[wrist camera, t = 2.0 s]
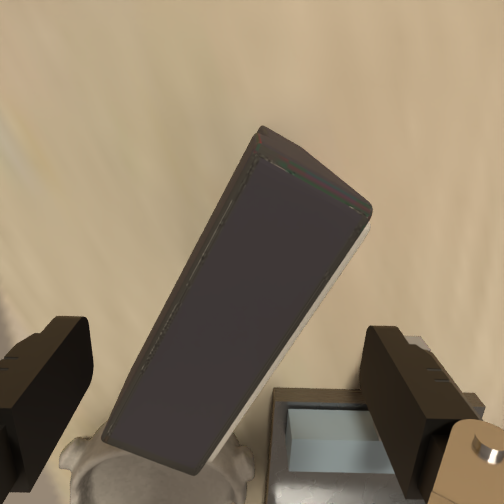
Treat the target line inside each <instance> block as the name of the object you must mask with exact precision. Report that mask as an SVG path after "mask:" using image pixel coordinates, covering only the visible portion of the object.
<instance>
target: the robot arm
mask: <svg viewBox="0 0 504 504" xmlns="http://www.w3.org/2000/svg"><path fill="white" fill-rule="evenodd" d="M93 367H94V364H93V355H92V347H91V338H90V330H89V323H88V320H87V318H86V317H78V316H56V317H55V318H54V319H53V320H52V321H51V322H50V323H49V324H48V325H47V326H46V328H45V329H44V330H43V331H42V332H41V333H34V334H32V335H31V336H29V337H27V338H26V339H24V340H22V341H21V342H19V343H17V344H16V345H15V346H14V347H13V348H12V349H11V350H10V351H9V352H8V353H7V354H6V356H5V357H4V359H2V360H1V361H0V504H3V502H4V500H5V499H6V497H7V495H8V493H9V492H31V490H32V488H33V486H34V484H35V482H36V481H37V479H38V477H39V475H40V474H41V472H42V470H43V468H44V466H45V465H46V463H47V461H48V459H49V457H50V456H51V454H52V452H53V450H54V448H55V447H56V445H57V443H58V441H59V439H60V438H61V436H62V434H63V432H64V430H65V429H66V427H67V425H68V423H69V421H70V420H71V418H72V416H73V414H74V412H75V411H76V409H77V407H78V405H79V403H80V401H81V400H82V398H83V396H84V394H85V392H86V391H87V389H88V387H89V385H90V383H91V380H92V375H93ZM359 380H360V387H361V392H362V394H363V397H364V399H365V402H366V404H367V407H368V409H369V411H370V414H371V416H372V419H373V421H374V424H375V426H376V429H377V431H378V434H379V436H380V438H381V441H382V443H383V446H384V448H385V451H386V453H387V456H388V458H389V460H390V463H391V465H392V468H393V470H394V473H395V475H396V478H397V480H398V482H399V485H400V487H401V490H402V492H403V495H404V497H405V499H414V500H424V501H425V504H504V430H503V429H501V428H499V427H497V426H495V425H493V424H490V423H488V422H484V421H481V420H479V418H478V417H477V416H476V414H475V413H474V412H473V410H472V409H471V408H470V406H469V405H468V404H467V402H466V401H465V400H464V398H463V397H462V396H461V394H460V393H459V392H458V390H457V389H456V388H455V386H454V385H453V384H452V382H449V378H448V377H447V376H446V374H445V373H444V372H443V371H441V368H440V366H439V365H438V364H437V362H436V361H435V360H434V358H433V357H432V356H431V355H430V354H429V353H427V352H426V351H424V350H423V349H422V348H420V347H419V346H418V345H416V344H409V343H408V341H407V340H406V338H405V337H404V336H403V334H402V333H401V331H400V330H399V328H398V327H396V326H369V327H368V329H367V331H366V337H365V342H364V348H363V354H362V360H361V366H360V373H359Z"/></svg>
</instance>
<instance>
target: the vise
mask: <svg viewBox="0 0 504 504" xmlns="http://www.w3.org/2000/svg"><path fill="white" fill-rule="evenodd" d="M463 394H464V396H465V397H466V398H467V400H468V401H469V402H470V404H471V405H472V406H473V408H474V409H475V410H476V412H477V413H478V414H479V416H480V417H481V418H482V416H483V413H484V410H485V405H484V404H483V403H482V402H481V400H480V399H479V398H478V397H477V395H476V394H475V393H463ZM288 409H313V410H351V411H369V409H368V407H367V404H366V402H365V399H364V397H363V394H362V392H361V390H345V389H309V388H274V392H273V406H272V419H271V432H270V445H269V459H268V472H267V485H266V498H265V504H425V501H424V500H414V499H405V497H404V495H403V492H402V490H401V487H400V485H399V482H398V480H397V478H396V475H395V474H387V473H343V472H298V471H289V468H288V459H287V450H286V441H285V437H286V427H287V416H288Z"/></svg>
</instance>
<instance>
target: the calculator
mask: <svg viewBox="0 0 504 504" xmlns="http://www.w3.org/2000/svg"><path fill="white" fill-rule="evenodd" d="M372 210H373V209H372V205H371V204H370V203H369V202H368V201H367V200H366V199H365V198H364V197H362V196H361V195H360V194H359V193H357V192H356V191H355V190H354V189H352V188H351V187H350V186H349V185H347V184H346V183H345V182H344V181H343V180H341V179H340V178H339V177H338V176H336V175H335V174H334V173H333V172H331V171H330V170H329V169H328V168H326V167H325V166H324V165H323V164H321V163H320V162H319V161H318V160H316V159H315V158H314V157H313V156H312V155H310V154H309V153H308V152H307V151H305V150H304V149H303V148H301V147H300V146H298V145H296V144H295V143H293V142H291V141H290V140H288V139H286V138H284V137H283V136H281V135H279V134H277V133H276V132H274V131H272V130H270V129H269V128H267V127H265V126H261V127H260V128H259V130H258V131H257V133H256V134H254V136H253V137H252V139H251V141H250V143H249V145H248V147H247V149H246V151H245V152H244V154H243V156H242V158H241V160H240V162H239V164H238V166H237V168H236V170H235V172H234V173H233V175H232V177H231V179H230V181H229V183H228V185H227V187H226V189H225V191H224V193H223V194H222V196H221V198H220V200H219V202H218V204H217V206H216V208H215V210H214V212H213V214H212V215H211V217H210V219H209V221H208V223H207V225H206V227H205V229H204V231H203V233H202V235H201V237H200V238H199V240H198V242H197V244H196V246H195V248H194V250H193V252H192V254H191V256H190V258H189V259H188V261H187V263H186V265H185V267H184V269H183V271H182V273H181V275H180V277H179V279H178V280H177V282H176V284H175V286H174V288H173V290H172V292H171V294H170V296H169V298H168V300H167V301H166V303H165V305H164V307H163V309H162V311H161V313H160V315H159V317H158V319H157V321H156V323H155V324H154V326H153V328H152V330H151V332H150V334H149V336H148V338H147V340H146V342H145V344H144V345H143V347H142V349H141V351H140V353H139V355H138V357H137V359H136V361H135V363H134V365H133V366H132V368H131V370H130V372H129V375H128V377H127V379H126V381H125V383H124V386H123V388H122V390H121V392H120V395H119V397H118V399H117V401H116V404H115V406H114V408H113V410H112V413H111V415H110V417H109V419H108V421H107V424H106V426H105V428H104V430H103V433H102V435H101V440H102V442H104V443H106V444H109V445H111V446H114V447H117V448H119V449H122V450H125V451H127V452H130V453H132V454H135V455H138V456H140V457H143V458H146V459H148V460H151V461H154V462H156V463H159V464H161V465H164V466H167V467H169V468H172V469H175V470H178V471H180V472H183V473H186V474H189V475H191V476H196V475H197V474H198V473H199V472H200V471H201V470H202V468H203V467H204V465H205V464H206V462H207V461H209V462H211V461H213V460H214V458H215V457H216V456H217V454H218V453H219V451H220V450H221V449H222V447H223V446H224V444H225V443H226V441H227V440H228V438H229V437H230V435H231V434H232V432H233V431H234V430H235V428H236V427H237V425H238V424H239V422H240V421H241V419H242V418H243V416H244V415H245V413H246V412H247V410H248V409H249V408H250V406H251V405H252V403H253V402H254V400H255V399H256V397H257V396H258V394H259V393H260V391H261V390H262V389H263V387H264V386H265V384H266V383H267V381H268V380H269V378H270V377H271V375H272V374H273V372H274V371H275V369H276V368H277V367H278V365H279V364H280V362H281V361H282V359H283V358H284V356H285V355H286V353H287V352H288V350H289V349H290V348H291V346H292V345H293V343H294V342H295V340H296V339H297V337H298V336H299V334H300V333H301V331H302V330H303V328H304V327H305V326H306V324H307V323H308V321H309V320H310V318H311V317H312V315H313V314H314V312H315V311H316V309H317V308H318V307H319V305H320V304H321V302H322V301H323V299H324V298H325V296H326V295H327V293H328V292H329V290H330V289H331V288H332V286H333V285H334V283H335V282H336V280H337V279H338V277H339V276H340V274H341V273H342V271H343V270H344V268H345V267H346V266H347V264H348V263H349V261H350V260H351V258H352V257H353V255H354V254H355V252H356V251H357V249H358V248H359V247H360V245H361V244H362V242H363V241H364V239H365V237H366V236H367V234H368V232H369V231H370V228H371V224H370V222H369V220H370V218H371V216H372Z"/></svg>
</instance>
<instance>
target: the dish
mask: <svg viewBox="0 0 504 504" xmlns="http://www.w3.org/2000/svg"><path fill="white" fill-rule="evenodd" d="M106 424H107V422H106V423H104V424H103V425H102V426H101V427H100V428H99V429H98V430H97V431H96V433H95V434H94V436H93V437H92V438H91V439H89V440H86V439H84V438H82V437H77V438H75V439H73V440H72V441H71V442H70V443H69V444H68V445H67V446H66V447H65V448H64V449H63V451H62V452H61V454H60V458H59V468H60V469H67V470H70V471H71V473H72V475H71V481H70V504H232V503H233V502H234V503H235V504H244V503H245V500H246V491H247V483H246V482H247V481H250V480H252V479H253V478H254V473H255V468H254V457H253V454H252V452H251V450H250V449H249V448H248V447H247V446H244V445H243V446H240V444H239V441H238V439H237V438H236V436H235V435H234V433H233V432H232V434H231V435H230V437H229V438H228V440H227V441H226V443H225V444H224V446H223V447H222V449H221V450H220V451H219V453H218V454H217V456H216V457H215V458H214V460H213V461H211V462H209V461H207V462H206V464H205V465H204V467H203V468H202V470H201V471H200V472H199V473H198V474H197V475H196V476H191V475H189V474H186V473H183V472H180V471H178V470H175V469H172V468H169V467H167V466H164V465H161V464H159V463H156V462H154V461H151V460H148V459H146V458H143V457H140V456H138V455H135V454H132V453H130V452H127V451H125V450H122V449H119V448H117V447H114V446H111V445H109V444H106V443H104V442H102V440H101V435H102V433H103V430H104V428H105V426H106Z"/></svg>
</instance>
